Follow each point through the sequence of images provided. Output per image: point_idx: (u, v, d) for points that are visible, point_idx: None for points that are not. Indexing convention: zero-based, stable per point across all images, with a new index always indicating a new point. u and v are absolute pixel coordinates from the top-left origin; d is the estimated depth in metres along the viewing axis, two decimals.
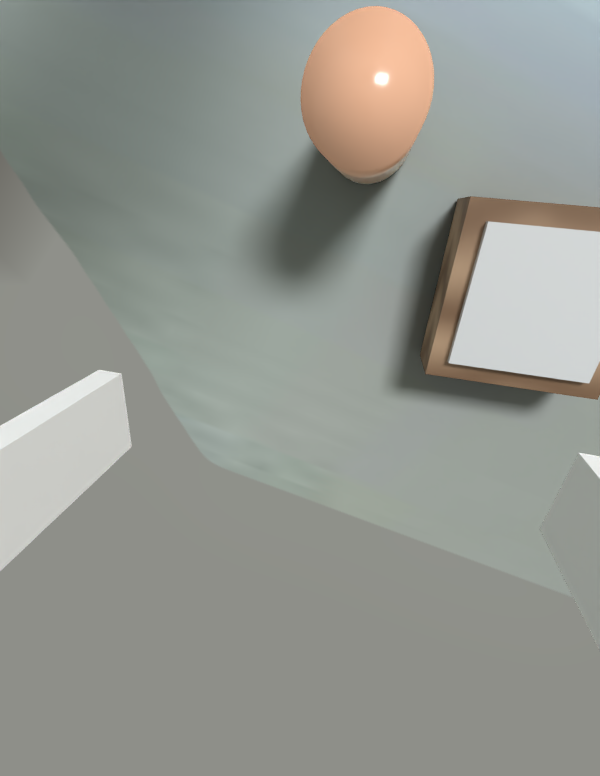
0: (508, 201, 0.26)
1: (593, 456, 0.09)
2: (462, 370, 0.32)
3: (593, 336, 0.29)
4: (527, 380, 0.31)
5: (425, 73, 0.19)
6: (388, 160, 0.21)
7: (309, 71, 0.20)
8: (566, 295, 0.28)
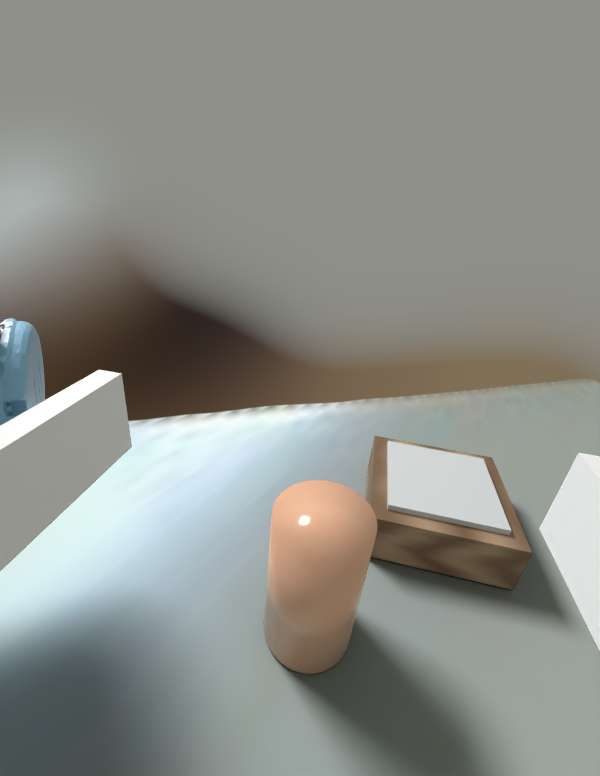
0: (372, 498, 0.37)
1: (593, 456, 0.09)
2: (512, 525, 0.35)
3: (451, 458, 0.43)
4: (497, 487, 0.40)
5: (317, 483, 0.27)
6: (369, 506, 0.26)
7: (302, 550, 0.22)
8: (429, 469, 0.41)
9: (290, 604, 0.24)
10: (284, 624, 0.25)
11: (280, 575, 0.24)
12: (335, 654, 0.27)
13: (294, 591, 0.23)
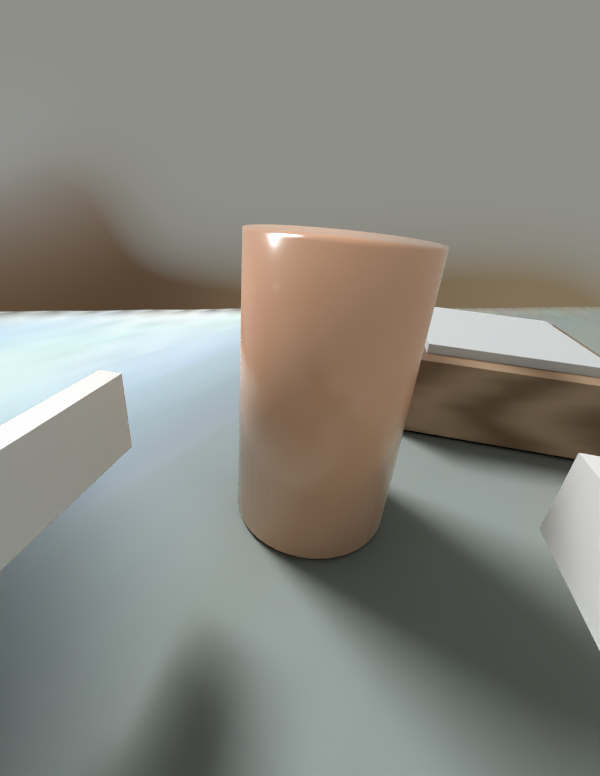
0: None
1: (593, 456, 0.09)
2: None
3: (502, 318, 0.31)
4: None
5: (326, 228, 0.16)
6: (424, 241, 0.14)
7: None
8: (476, 323, 0.29)
9: (280, 397, 0.12)
10: (270, 454, 0.14)
11: (259, 335, 0.12)
12: (362, 522, 0.15)
13: (287, 358, 0.12)
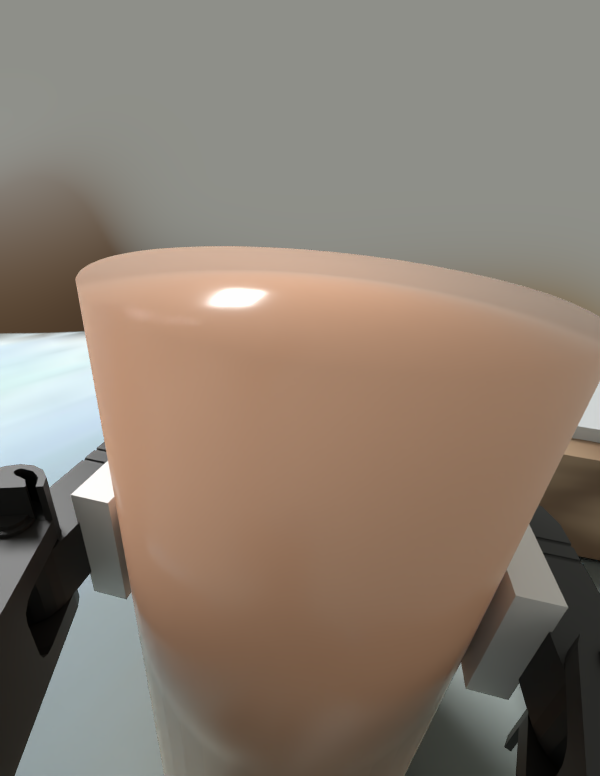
0: None
1: None
2: None
3: None
4: None
5: (309, 252, 0.08)
6: (504, 282, 0.07)
7: (197, 328, 0.03)
8: None
9: (183, 671, 0.05)
10: (181, 740, 0.06)
11: (126, 531, 0.05)
12: None
13: (186, 612, 0.04)
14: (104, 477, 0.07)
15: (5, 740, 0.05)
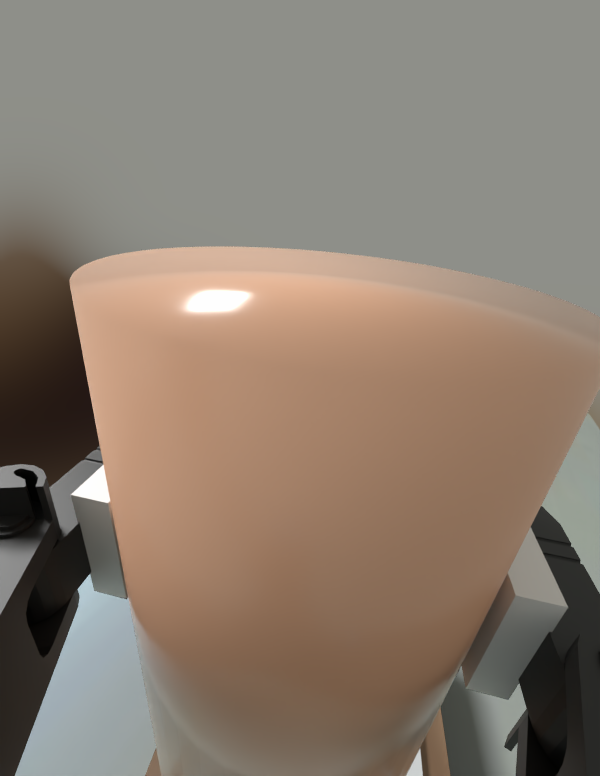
0: (151, 766, 0.17)
1: None
2: None
3: None
4: None
5: (308, 252, 0.08)
6: (505, 283, 0.07)
7: (191, 330, 0.03)
8: None
9: (179, 676, 0.05)
10: (178, 745, 0.06)
11: (122, 534, 0.05)
12: None
13: (182, 618, 0.04)
14: (104, 477, 0.07)
15: (4, 741, 0.05)
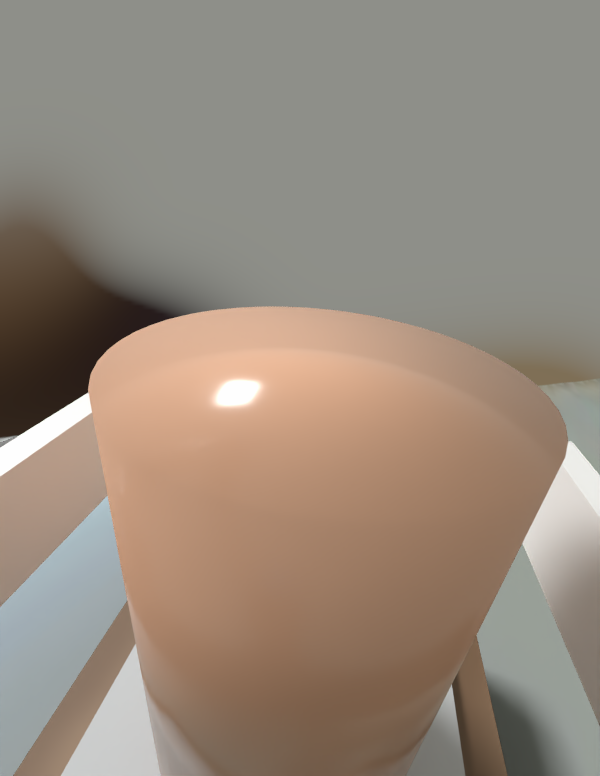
0: None
1: None
2: None
3: None
4: (474, 731, 0.12)
5: (301, 311, 0.09)
6: (482, 352, 0.07)
7: (196, 465, 0.04)
8: None
9: (183, 726, 0.06)
10: None
11: (132, 601, 0.05)
12: None
13: (186, 682, 0.05)
14: None
15: None
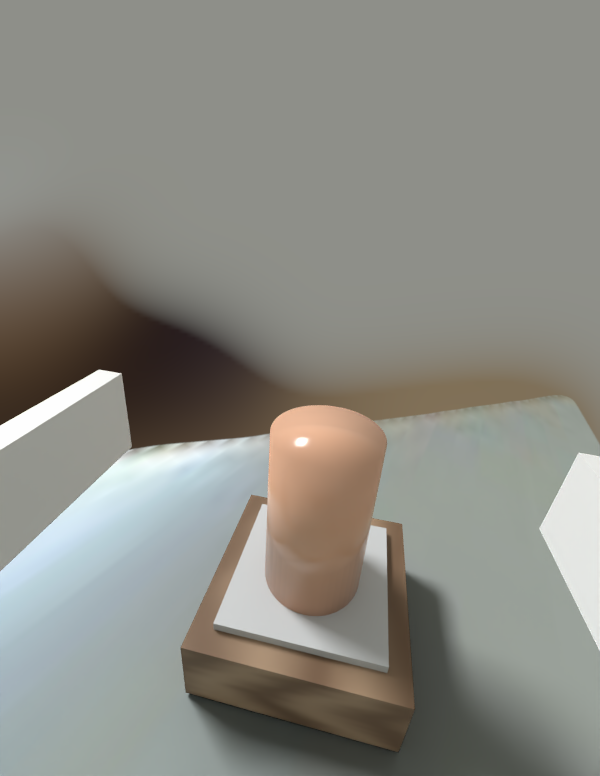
0: (200, 608, 0.25)
1: (593, 456, 0.09)
2: (397, 650, 0.23)
3: None
4: (395, 577, 0.28)
5: (319, 408, 0.25)
6: (377, 425, 0.24)
7: (305, 460, 0.20)
8: None
9: (292, 530, 0.22)
10: (287, 557, 0.23)
11: (280, 496, 0.22)
12: (344, 593, 0.24)
13: (297, 512, 0.21)
14: None
15: None
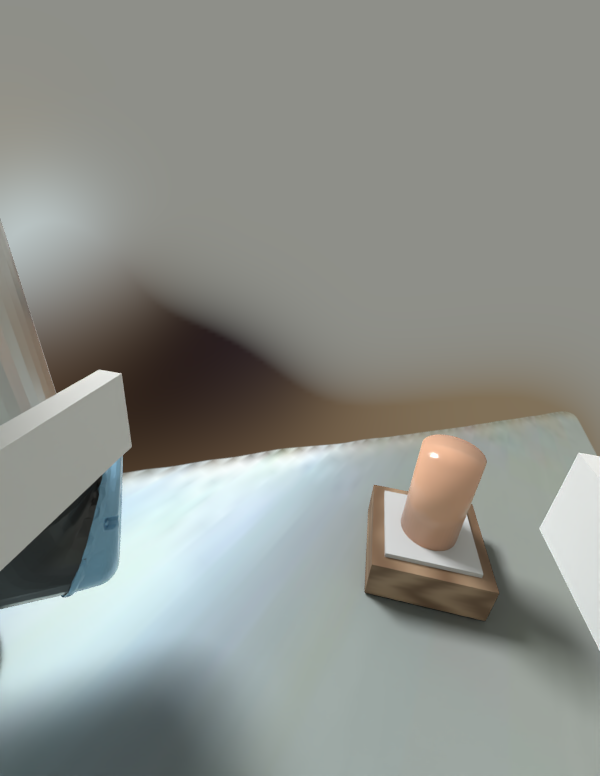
0: (373, 546, 0.45)
1: (593, 456, 0.09)
2: (485, 568, 0.44)
3: None
4: (475, 533, 0.48)
5: (441, 436, 0.45)
6: (476, 447, 0.44)
7: (450, 467, 0.40)
8: None
9: (435, 502, 0.42)
10: (428, 517, 0.43)
11: (430, 485, 0.42)
12: (454, 538, 0.44)
13: (440, 493, 0.41)
14: None
15: None
